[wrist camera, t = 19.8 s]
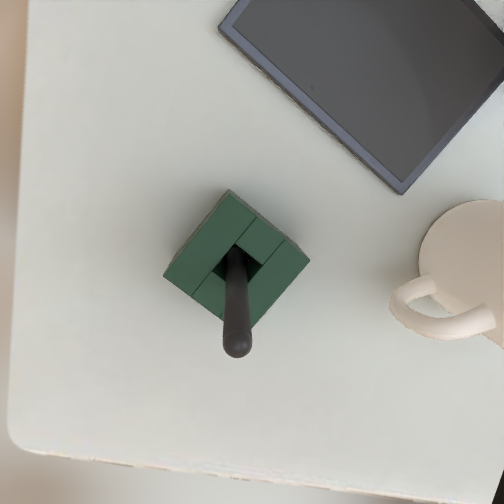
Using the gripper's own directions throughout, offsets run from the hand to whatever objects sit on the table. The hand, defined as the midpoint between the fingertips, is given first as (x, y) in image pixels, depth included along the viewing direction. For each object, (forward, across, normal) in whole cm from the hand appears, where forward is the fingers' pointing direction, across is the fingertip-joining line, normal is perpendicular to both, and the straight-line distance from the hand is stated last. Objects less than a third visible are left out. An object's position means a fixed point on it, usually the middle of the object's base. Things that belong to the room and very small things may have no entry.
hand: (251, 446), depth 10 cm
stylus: (+23, 0, 0) cm, 23 cm away
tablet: (+23, +8, +16) cm, 29 cm away
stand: (+23, 0, 0) cm, 23 cm away
